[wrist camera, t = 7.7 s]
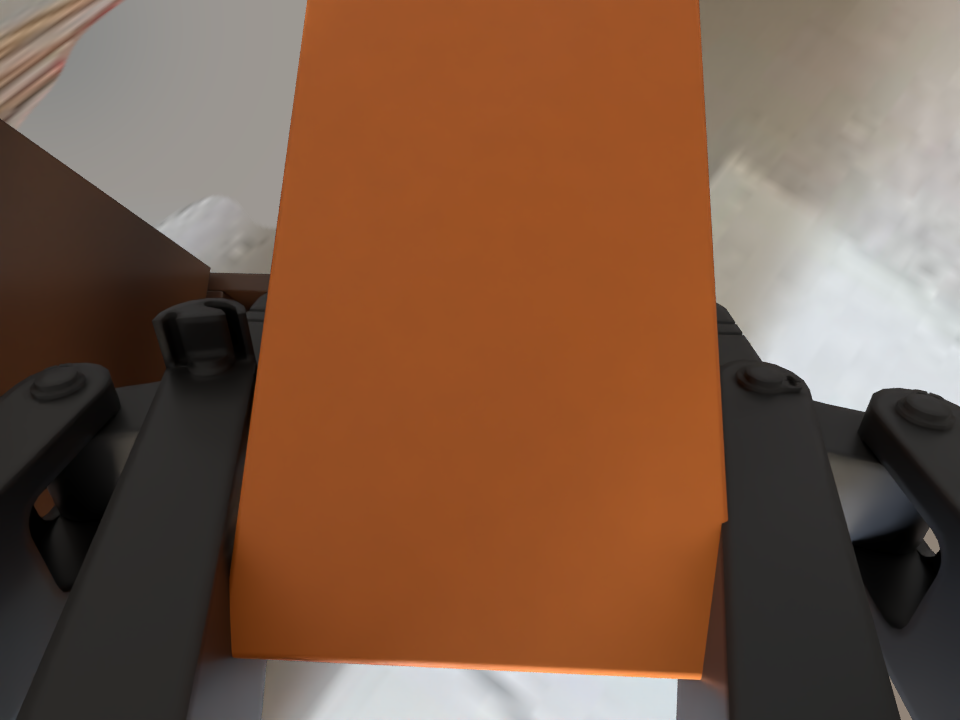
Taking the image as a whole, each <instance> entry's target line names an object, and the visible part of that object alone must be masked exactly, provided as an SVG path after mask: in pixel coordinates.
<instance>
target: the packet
mask: <svg viewBox="0 0 960 720" xmlns="http://www.w3.org/2000/svg"><path fill="white" fill-rule="evenodd" d="M727 521H728V509H727V491H726V473H725V456H724V438H723V420H722V402H721V384H720V367H719V349H718V331H717V313H716V295H715V278H714V260H713V242H712V224H711V206H710V189H709V171H708V153H707V135H706V117H705V100H704V82H703V64H702V46H701V28H700V11H699V0H307V7H306V15H305V21H304V29H303V36H302V44H301V51H300V58H299V66H298V73H297V81H296V88H295V95H294V103H293V111H292V117H291V125H290V132H289V140H288V147H287V155H286V162H285V169H284V177H283V184H282V191H281V199H280V206H279V214H278V221H277V228H276V236H275V243H274V250H273V258H272V265H271V273H270V280H269V287H268V295H267V302H266V310H265V317H264V324H263V332H262V339H261V347H260V354H259V361H258V369H257V376H256V383H255V391H254V398H253V406H252V413H251V420H250V428H249V435H248V443H247V450H246V457H245V465H244V472H243V480H242V487H241V494H240V502H239V509H238V517H237V524H236V531H235V539H234V546H233V553H232V561H231V568H230V576H229V594H230V625H231V648H232V657H233V658H241V659H263V660H284V661H306V662H327V663H349V664H371V665H392V666H414V667H435V668H457V669H478V670H500V671H521V672H543V673H565V674H586V675H608V676H629V677H651V678H672V679H694V680H700V679H701V677H702V672H703V664H704V656H705V649H706V641H707V633H708V626H709V618H710V610H711V603H712V595H713V587H714V580H715V572H716V564H717V557H718V549H719V541H720V534H721V526H722V523H725V522H727Z"/></svg>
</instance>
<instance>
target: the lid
mask: <svg viewBox="0 0 960 720" xmlns="http://www.w3.org/2000/svg"><path fill="white" fill-rule="evenodd" d="M210 269H211V268H210V267H209V266H207V265H206V264H204V263H203V262H202V261H200V260H199V259H197V258H196V257H195V256H193V255H192V254H190V253H189V252H188V251H186V250H185V249H183V248H182V247H180V246H179V245H178V244H176V243H175V242H173V241H172V240H171V239H169V238H168V237H166V236H165V235H164V234H162V233H161V232H159V231H158V230H156V229H155V228H154V227H152V226H151V225H149V224H148V223H147V222H145V221H144V220H142V219H141V218H139V217H138V216H137V215H135V214H134V213H132V212H131V211H130V210H128V209H127V208H125V207H124V206H123V205H121V204H120V203H118V202H117V201H116V200H114V199H113V198H111V197H110V196H108V195H107V194H106V193H104V192H103V191H101V190H100V189H99V188H97V187H96V186H94V185H93V184H91V183H90V182H89V181H87V180H86V179H84V178H83V177H82V176H80V175H79V174H77V173H76V172H74V171H73V170H72V169H70V168H69V167H68V166H66V165H65V164H63V163H62V162H60V161H59V160H58V159H56V158H55V157H53V156H52V155H50V154H49V153H48V152H46V151H45V150H43V149H42V148H40V147H39V146H38V145H36V144H35V143H34V142H32V141H31V140H29V139H28V138H27V137H25V136H24V135H22V134H21V133H19V132H18V131H17V130H15V129H14V128H12V127H11V126H10V125H8V124H7V123H5V122H4V121H3V120H1V119H0V397H1V396H2V395H3V394H5V393H6V392H7V391H8V390H9V389H11V388H12V387H13V386H14V385H16V384H17V383H19V382H21V381H22V380H24V379H26V378H27V377H29V376H31V375H33V374H36V373H38V372H41V371H43V370H44V369H45V368H48V367H51V366H55V365H57V366H59V364H65V363H72V364H73V363H92V364H99V365H101V366H103V367H105V368H106V369H108V370H109V373H110V375H111V378H112V381H113V384H114V386H115V388H118V387H125V386H132V385H139V384H146V383H153V382H158V381H161V379H162V377H163V375H164V372H165V370H166V366H165V363H164V359H163V356H162V353H161V350H160V346H159V343H158V340H157V336H156V333H155V330H154V327H153V323H152V320H153V319H154V318H155V317H156V316H157V315H158V314H159V313H160V312H162V311H164V310H166V309H168V308H170V307H172V306H174V305H177V304H180V303H184V302H187V301H191V300H198V299H205V298H206V295H207V288H208V282H209V276H210ZM54 505H55V503H54V501H53V499H52V497H51V495H50V493H49V491H48V489H47V488H46V489H45V490H44V491H43V492H42V493H41V494H40V495H39V497H38V498H37V500H36V502H35V503H34V507H35V509H36V511H37V513H38V515H40V516H41V517H44V516H45V515H46V514H48V512H49V511H50V510H51V509H52V508H53V507H54Z"/></svg>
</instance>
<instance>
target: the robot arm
mask: <svg viewBox="0 0 960 720" xmlns="http://www.w3.org/2000/svg"><path fill="white" fill-rule="evenodd" d="M267 295H268V292H267V293H265V294H264V295H262V296H260V297H259V298H258V299H257V301H256V302H255V303H254V304H253V305H252V307H251V308H250V311H247V312H246V311H245V306H244V305H242V304H240V303H239V302H237V301H234V300H230V299H225V298H205V299H198V300H191V301H187V302H184V303H180V304H177V305H174V306H172V307H170V308H168V309H166V310H164V311H162V312H160V313H159V314H158V315H157V316H156V317H155V318H154V319H153V320H152V323H153V327H154V330H155V333H156V336H157V340H158V343H159V346H160V350H161V353H162V356H163V359H164V363H165V366H166V370H165V372H164V375H163V377H162V379H161V381H158V382H153V383H146V384H139V385H132V386H125V387H118V388H115V386H114V384H113V381H112V378H111V375H110V373H109V370H108V369H106V368H105V367H103V366H101V365H99V364H92V363H73V364H72V363H65V364H59V366H57V365H55V366H51V367H48V368H45V369H44V370H43V371H41V372H38V373H36V374H33V375H31V376H29V377H27V378H26V379H24V380H22V381H21V382H19V383H17V384H16V385H14V386H13V387H12V388H11V389H9V390H8V391H7V392H6V393H5V394H3V395H2V396H1V397H0V720H261V718H262V707H263V696H264V685H265V674H266V663H267V660H263V659H241V658H233V657H232V648H231V625H230V594H229V576H230V568H231V561H232V553H233V546H234V539H235V531H236V524H237V517H238V509H239V502H240V494H241V487H242V480H243V472H244V465H245V457H246V450H247V443H248V435H249V428H250V420H251V413H252V406H253V398H254V391H255V383H256V376H257V369H258V361H259V354H260V347H261V339H262V332H263V324H264V317H265V310H266V302H267ZM716 313H717V331H718V349H719V367H720V384H721V402H722V420H723V438H724V456H725V473H726V491H727V509H728V521H727V522H725V523H722V526H721V534H720V541H719V549H718V557H717V564H716V572H715V580H714V587H713V595H712V603H711V610H710V618H709V626H708V633H707V641H706V649H705V656H704V664H703V672H702V677H701V679H700V680H694V679H678V688H677V716H676V720H901V719H900V715H899V711H898V708H897V704H896V701H895V697H894V694H893V690H892V686H891V682H890V679H889V676H890V678H891V680H892V682H893V684H894V686H895V688H896V690H897V691H898V693H899V695H900V697H901V699H902V701H903V703H904V705H905V706H906V708H907V710H908V712H909V714H910V716H911V718H912V720H960V407H959V406H958V405H956V404H953V403H951V402H949V401H947V400H945V399H944V398H942V397H941V396H939V395H936V394H933V393H929V394H928V393H927V392H926V391H922V390H916V389H915V390H911V389H903V388H891V389H882V390H880V391H878V392H876V393H874V394H873V395H872V398H871V400H870V402H869V405H868V407H867V409H866V412H862V411H857V410H853V409H848V408H843V407H838V406H833V405H829V404H825V403H821V402H817V401H813V400H812V396H811V393H810V389H809V388H808V386H807V385H806V383H805V382H804V380H802V379H801V378H800V377H798V376H797V375H796V374H794V373H793V372H791V371H789V370H787V369H784V368H782V367H780V366H778V365H775V364H770V363H766V362H762V361H761V359H760V358H759V356H758V355H757V353H756V352H755V350H754V349H753V347H752V346H751V345H750V343H749V342H748V340H747V339H746V337H745V336H744V335H742V331H741V330H740V328H739V327H738V326H737V324H735V321H734V320H733V318H732V317H731V315H730V314H729V312H728V311H727V309H726V308H724V307H723V306H721V305H719V304H718V303H716ZM46 488H47V489H48V491H49V493H50V495H51V497H52V499H53V501H54V503H55V505H54V507H53V508H52V509H51V510H50V511H49V512H48V514H46V515H45V516H44V517H41V516H40V515H38V513H37V511H36V509H35V507H34V503H35V502H36V500H37V498H38V497H39V495H40V494H41V493H42V492H43V491H44V490H45V489H46ZM929 527H930V528H931V529H932V531H933V533H934V534H935V536H936V538H937V540H938V543H939V547H940V550H939V552H938V553H937V554H935V553H934V552H933V551H932V550H931V549H930V548H929V546H928V545H927V544H926V542H925V541H924V539H923V538H924V536H925V534H926V532H927V531H928V529H929Z"/></svg>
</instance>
